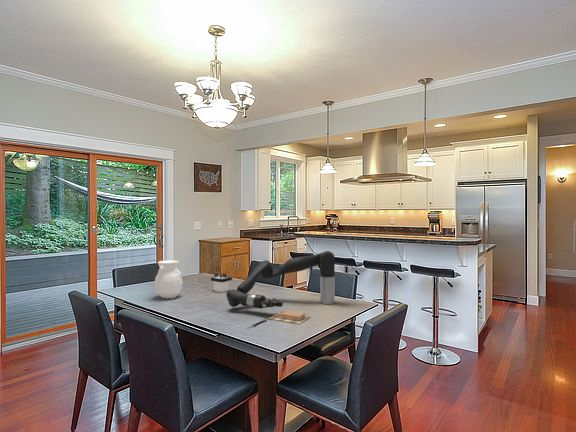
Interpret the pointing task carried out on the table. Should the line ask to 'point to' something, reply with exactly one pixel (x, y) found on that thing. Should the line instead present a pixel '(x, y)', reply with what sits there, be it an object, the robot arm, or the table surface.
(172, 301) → the table surface
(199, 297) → the table surface
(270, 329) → the table surface
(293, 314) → the tile
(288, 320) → the board
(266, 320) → the kitchen knife
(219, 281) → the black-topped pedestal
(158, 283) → the white vase
